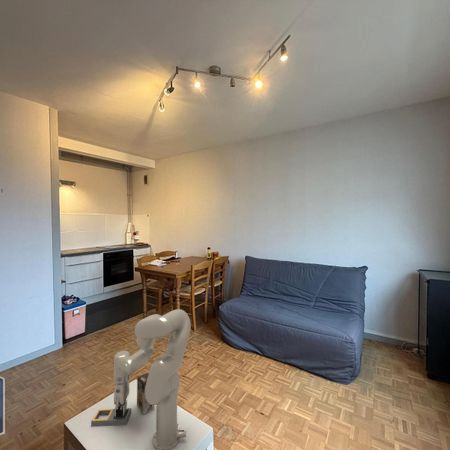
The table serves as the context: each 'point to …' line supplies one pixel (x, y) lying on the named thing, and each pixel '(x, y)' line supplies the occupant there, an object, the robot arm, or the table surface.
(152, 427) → the table surface
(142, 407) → the coffee box
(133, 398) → the table surface
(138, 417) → the table surface
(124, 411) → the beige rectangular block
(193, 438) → the table surface
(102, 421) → the frame with rectangular openings
